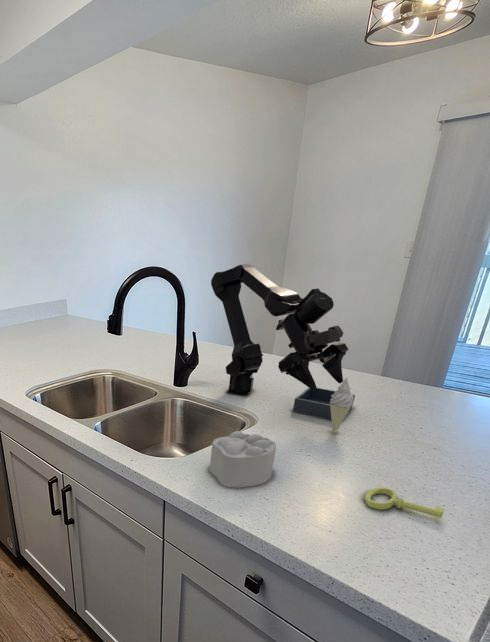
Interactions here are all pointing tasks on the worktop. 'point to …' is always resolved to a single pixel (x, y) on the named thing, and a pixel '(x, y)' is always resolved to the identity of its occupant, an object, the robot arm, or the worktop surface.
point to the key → (398, 503)
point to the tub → (315, 402)
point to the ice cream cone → (340, 404)
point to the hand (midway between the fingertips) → (328, 385)
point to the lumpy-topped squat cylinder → (242, 459)
